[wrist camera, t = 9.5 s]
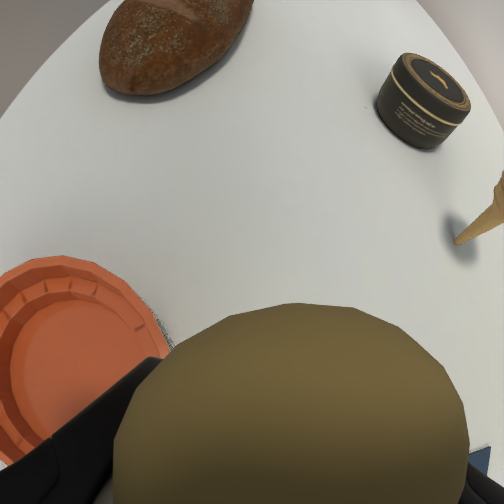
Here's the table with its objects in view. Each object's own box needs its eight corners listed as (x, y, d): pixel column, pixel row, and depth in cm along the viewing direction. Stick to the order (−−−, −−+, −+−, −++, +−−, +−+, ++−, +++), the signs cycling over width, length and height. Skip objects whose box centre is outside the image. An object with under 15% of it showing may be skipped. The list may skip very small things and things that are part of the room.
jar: (382, 84, 36) (407, 42, 29) (442, 127, 35) (473, 91, 28) (361, 116, 32) (392, 66, 25) (433, 168, 31) (473, 127, 24)
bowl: (128, 510, 14) (114, 537, 10) (-25, 398, 15) (-60, 395, 11) (214, 342, 20) (220, 332, 16) (53, 248, 20) (29, 219, 16)
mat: (397, 555, 15) (399, 556, 14) (415, 469, 18) (417, 470, 18) (474, 523, 16) (476, 523, 16) (488, 446, 20) (491, 446, 19)
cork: (281, 490, 11) (452, 622, 1) (142, 463, 11) (35, 622, 1) (309, 365, 14) (528, 294, 4) (174, 332, 13) (134, 166, 3)
